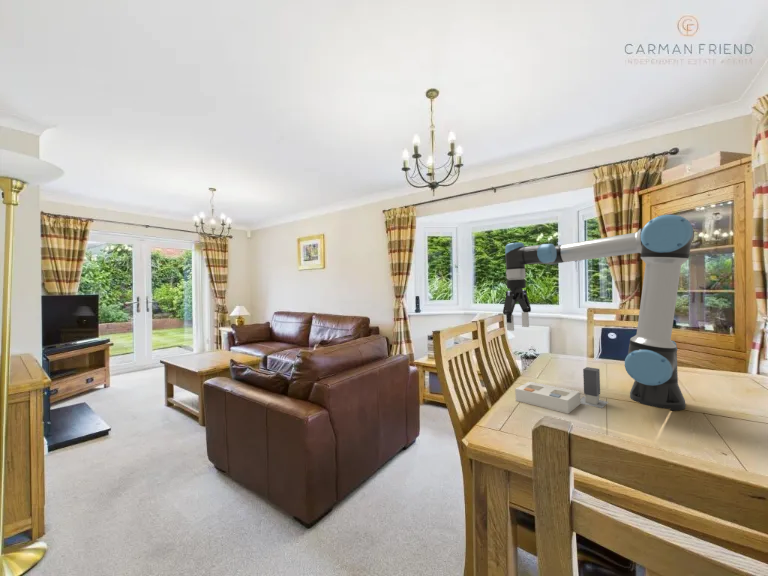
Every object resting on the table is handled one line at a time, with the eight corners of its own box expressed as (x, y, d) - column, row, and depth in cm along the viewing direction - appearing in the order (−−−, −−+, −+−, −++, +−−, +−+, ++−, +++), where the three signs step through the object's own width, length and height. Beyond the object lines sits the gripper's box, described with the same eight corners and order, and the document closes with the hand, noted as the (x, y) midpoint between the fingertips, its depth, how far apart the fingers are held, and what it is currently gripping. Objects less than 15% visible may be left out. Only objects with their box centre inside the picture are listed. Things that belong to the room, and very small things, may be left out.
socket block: (580, 405, 114) (579, 390, 114) (568, 415, 106) (567, 399, 106) (529, 393, 127) (529, 380, 127) (515, 401, 119) (515, 387, 119)
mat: (608, 403, 114) (608, 401, 114) (602, 409, 109) (602, 408, 109) (583, 398, 120) (583, 396, 120) (576, 403, 115) (576, 402, 115)
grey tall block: (600, 402, 115) (599, 368, 115) (597, 405, 112) (596, 371, 112) (587, 399, 118) (586, 367, 118) (584, 402, 115) (583, 369, 115)
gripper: (521, 279, 147) (523, 324, 147) (492, 280, 131) (495, 331, 131) (537, 278, 142) (539, 325, 142) (509, 279, 125) (512, 332, 125)
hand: (518, 328), depth 136 cm, fingers open, 13 cm apart
